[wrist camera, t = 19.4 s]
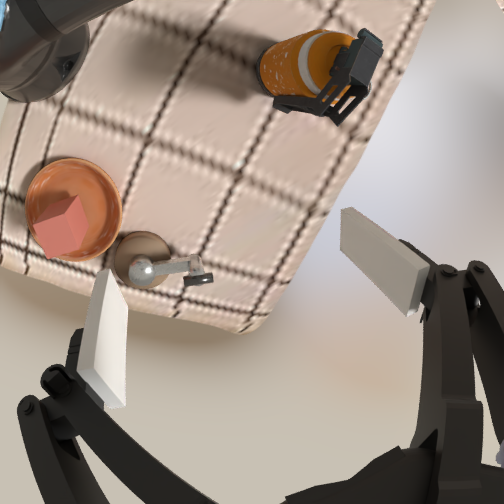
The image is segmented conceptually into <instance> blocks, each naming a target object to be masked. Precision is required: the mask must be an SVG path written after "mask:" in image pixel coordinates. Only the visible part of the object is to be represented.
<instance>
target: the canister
mask: <svg viewBox="0 0 504 504" xmlns="http://www.w3.org/2000/svg"><path fill="white" fill-rule="evenodd" d="M357 37H358V38H359V39H355V38H353V37H351V36H350V35H348V34H345V33H343V32H339V31H329V30H321V29H320V30H313V31H310V32H307V33H304V34H301V35H298V36H296V37H293V38H290V39H288V40H285V41H282V42H280V43H277V44H275V45H272V46H270V47H268V48H267V49H266V50H264V51H263V52H262V54H261V55H260V57H259V58H258V61H257V65H256V75H257V79H258V81H259V83H260V85H261V87H262V88H263V89H264V90H265V91H266V92H267V93H268V94H269V95H271V96H273V97H274V101H273V108H276V109H278V110H280V111H282V112H285V113H287V114H288V113H289V112H291V111H292V110H293V111H299V112H305V113H310V114H313V115H315V116H319V117H320V116H321V117H324V116H326V117H330V119H331V120H332V121H333V122H334V123H335V124H336V126H337V127H338V126H339V125H340V124H341V123H342V122H343V121H344V120H345V118H346V117H347V116H348V115H349V114H350V113H351V112H352V111H353V110H354V109H355V108H356V107H357V106H358V104H359V103H360V102H361V101H362V100H365V99H367V98H368V96H369V95H370V93H371V89H372V82H371V78H372V76H373V73H374V71H375V68H376V66H377V63H378V61H379V59H380V57H381V56H382V54H383V51H384V50H383V49H382V46H383V44H382V43H381V42H382V41H381V40H380V39H379V38H378V37H376V36H375V35H374V34H372V33H371V32H370V31H368V30H367V29H366V28H363V29H361V30H360V31H359V32H358V35H357ZM368 85H369V91H368ZM353 98H355V99H354V100H353V101H352V102H351V103H350V104H349V105H348V106H347V107H346V108H345V109H344V110H343V111H342V112H341V113H340V115H339V110H340V109H341V108H342V107H343V105H344V104H345V103H346V102H347V100H350V99H353ZM331 104H335V106H334V107H332V106H330V105H331Z"/></svg>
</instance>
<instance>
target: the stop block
mask: <svg viewBox="0 0 504 504" xmlns="http://www.w3.org/2000/svg"><path fill="white" fill-rule="evenodd" d="M33 227H34V229H35V232H36V234H37V237H38V239H39V241H40V244H41V246H42V248H43V250H44V252H45V255H46V257H47V259H50V258H53V257H56V256H59V255H62V254H66V253H69V252H72V251H75V250H79V248H80V246H81V243H82V241H83V239H84V237H85V234H86V232H87V230H88V228H89V224H88V221H87V218H86V216H85V213H84V210H83V207H82V204H81V201H80V198H79V195H76V196H73V197H70V198H67V199H64V200H61V201H59V202H56V203H53V204H51V205H49V206H48V207H47V208H46V210H45V211H44V212H43V213H42V214H41V216H40V217H39V218H38V219H37V220H36V222H35V223H34V224H33Z"/></svg>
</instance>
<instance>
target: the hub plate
mask: <svg viewBox="0 0 504 504" xmlns="http://www.w3.org/2000/svg"><path fill="white" fill-rule="evenodd" d="M137 255H147V256H149V257H151V258H152V259H153V260H154V262H157V261H164V260H171V257H170V250H169V247H168V245H167V244H166V242H165V241H164V240H163V239H162V238H161V237H160V236H158V235H156V234H154V233H151V232H147V231H138V232H134V233H131V234H129V235H127V236H126V237H124V238H123V239H122V240H121V242H120V243H119V245H118V247H117V250H116V255H115V259H114V267H115V270H116V273H117V275H118V276H119V278H120V279H121V280H122V281H123V282H124V283H126V284H127V285H129V286H131V287H134V288H139V289H148V288H153V287H155V286H158V285H159V284H161V283H162V282H163V281H164V280H165V279H166V278H167V277H168V275H169V274H165V275H158V276H155V279H154V281H153V282H152V283H151V284H149V285H146V286H139V285H136V284H134V283H133V282H132V281H131V280H130V278H129V267H130V262H131V260H132V258H134V257H135V256H137Z"/></svg>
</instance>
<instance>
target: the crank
mask: <svg viewBox="0 0 504 504" xmlns="http://www.w3.org/2000/svg"><path fill="white" fill-rule="evenodd" d="M186 271H189V276H183V279H184V286H185V287H186V286H193V285H195V286H201V285H203V284H206V283H213V274H212V272H211V273H205V272H204V268H203V265H202V261H201V257H200V256H199V255H197V254H191V255H189V256H188V257H186V258H178V259H171V260H164V261H157V262H154V260H153V259H152V258H151V257H149V256H147V255H137V256H135V257H134V258H132V260H131V262H130V267H129V278H130V280H131V281H132V282H133V283H134V284H136V285H139V286H146V285H149V284H151V283H152V282H153V281H154V279H155V276H158V275H165V274H172V273H179V272H186Z"/></svg>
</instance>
